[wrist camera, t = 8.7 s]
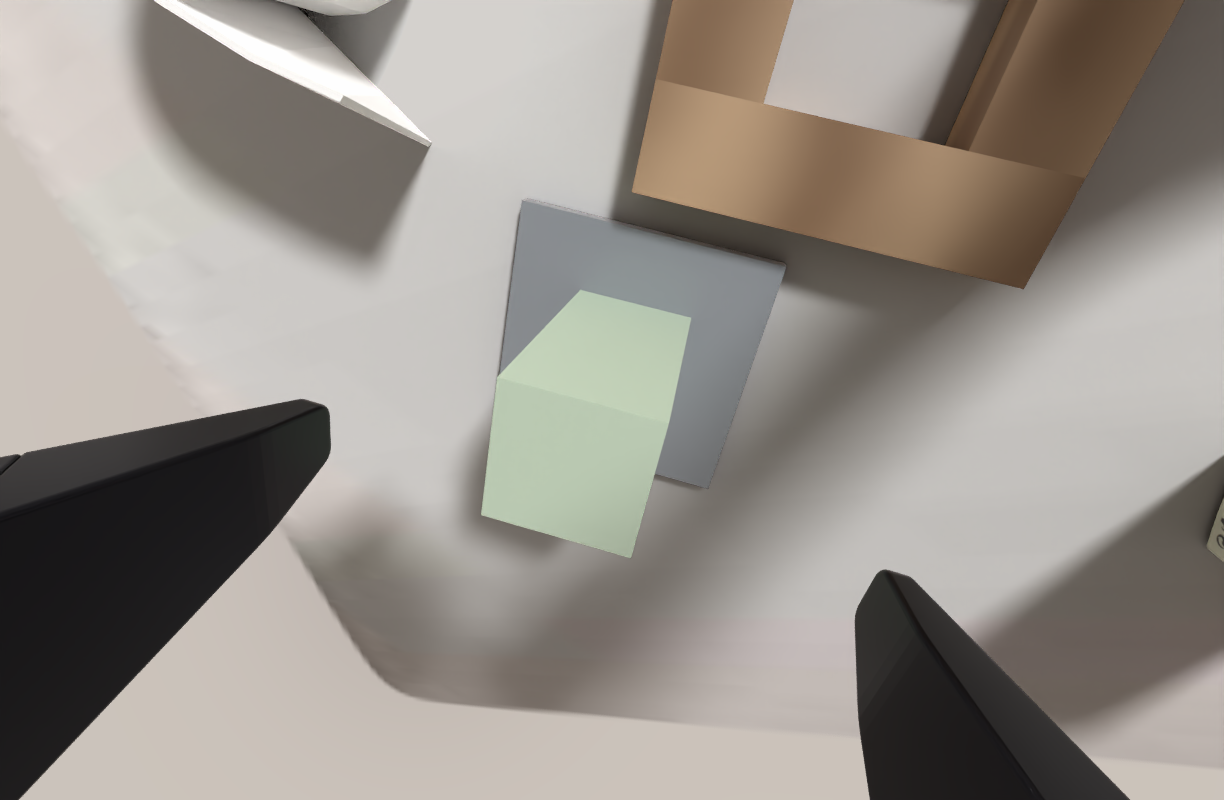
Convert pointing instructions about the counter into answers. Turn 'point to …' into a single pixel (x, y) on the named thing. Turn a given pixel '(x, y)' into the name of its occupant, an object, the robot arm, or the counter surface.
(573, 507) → the green block
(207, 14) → the toilet paper
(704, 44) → the pocket block
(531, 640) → the counter surface
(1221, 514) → the skincare box
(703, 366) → the coaster
